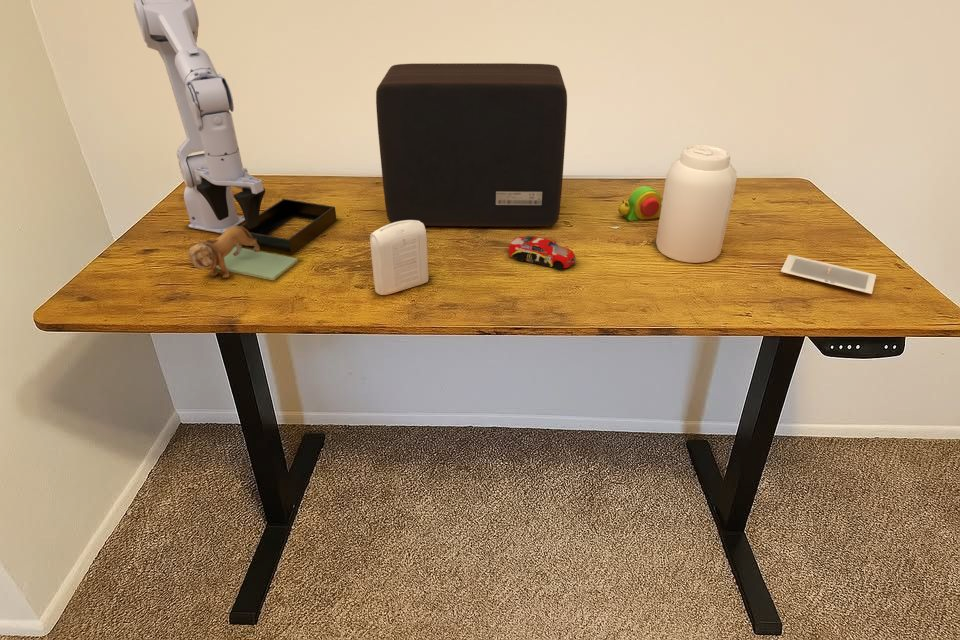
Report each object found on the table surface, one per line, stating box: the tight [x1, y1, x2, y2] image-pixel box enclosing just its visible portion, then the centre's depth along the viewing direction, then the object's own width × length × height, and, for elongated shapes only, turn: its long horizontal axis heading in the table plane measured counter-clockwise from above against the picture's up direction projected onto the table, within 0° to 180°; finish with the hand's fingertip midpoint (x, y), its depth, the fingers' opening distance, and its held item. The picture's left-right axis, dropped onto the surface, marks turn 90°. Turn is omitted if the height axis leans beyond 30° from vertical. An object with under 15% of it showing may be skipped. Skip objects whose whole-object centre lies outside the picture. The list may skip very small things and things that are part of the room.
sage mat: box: [216, 246, 299, 282], centre depth 125 cm, size 18×8×1 cm, turn 70°
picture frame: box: [241, 198, 338, 256], centre depth 135 cm, size 13×17×3 cm
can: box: [655, 144, 738, 264], centre depth 123 cm, size 12×12×20 cm
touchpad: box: [780, 254, 877, 295], centre depth 118 cm, size 8×15×2 cm, turn 58°
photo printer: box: [369, 220, 429, 296], centre depth 114 cm, size 10×4×12 cm, turn 123°
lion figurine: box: [187, 225, 260, 279], centre depth 119 cm, size 15×5×9 cm, turn 156°
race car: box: [507, 235, 576, 271], centre depth 124 cm, size 13×5×4 cm, turn 63°
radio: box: [375, 62, 568, 228], centre depth 135 cm, size 36×18×30 cm, turn 88°
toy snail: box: [618, 185, 662, 222], centre depth 141 cm, size 6×20×7 cm, turn 108°
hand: (238, 222), depth 120 cm, fingers open, 7 cm apart
